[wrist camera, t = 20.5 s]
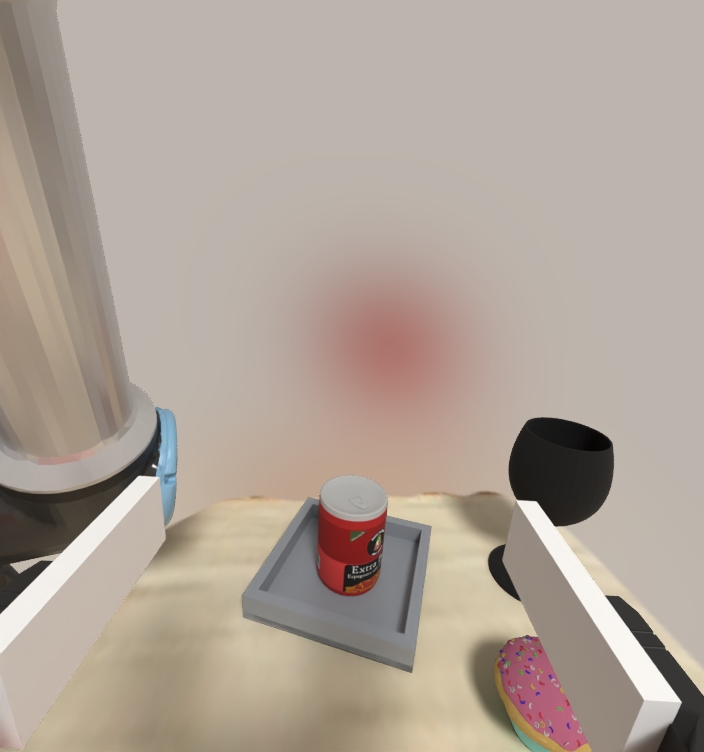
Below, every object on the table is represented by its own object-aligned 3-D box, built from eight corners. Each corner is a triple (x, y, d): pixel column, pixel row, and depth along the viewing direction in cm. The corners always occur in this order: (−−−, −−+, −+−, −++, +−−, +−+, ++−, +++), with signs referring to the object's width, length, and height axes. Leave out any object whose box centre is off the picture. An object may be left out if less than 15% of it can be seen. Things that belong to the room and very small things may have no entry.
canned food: (350, 611, 41) (357, 526, 38) (302, 569, 46) (304, 491, 43) (393, 572, 47) (402, 495, 43) (346, 538, 52) (351, 467, 48)
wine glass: (532, 622, 42) (576, 463, 36) (471, 555, 51) (497, 419, 45) (596, 596, 46) (645, 448, 40) (529, 538, 55) (560, 410, 49)
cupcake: (576, 688, 36) (610, 588, 32) (615, 811, 28) (666, 696, 24) (481, 664, 37) (503, 566, 34) (493, 774, 29) (523, 661, 26)
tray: (243, 617, 41) (242, 595, 40) (307, 514, 57) (308, 497, 56) (411, 673, 36) (415, 649, 35) (428, 544, 53) (431, 526, 52)
